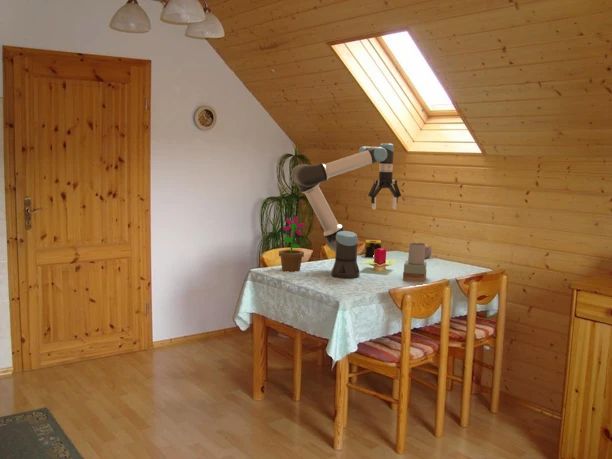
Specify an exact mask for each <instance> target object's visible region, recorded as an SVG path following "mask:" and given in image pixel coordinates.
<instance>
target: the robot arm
mask: <svg viewBox="0 0 612 459" xmlns="http://www.w3.org/2000/svg"><path fill="white" fill-rule="evenodd" d="M394 148H395V147H394V144H393V143H380V146H361V147H360V148H359V149H358V153H357V152H356V153H354V154H352V155H349V156H345V157H342V158H338V159H336V160H333V161H331V162H327V163H322V162H320V163H318V164H317V163H316V164H307V163H301V164H298V165H295V167H293V169H292V172H291V179H292V182H294V184H295V185H297V187H298V190H299V191H300V193H302V194H305V196H306V198H307V200H308V202H309V204H310V206H311V208H312V209H313V212H314V214H315V216H316V217H317V219H318V221H319V223H320V225H321V227H322V228H323V231H324V232H323V236H324V238H325V241H326V244H327V246H328V248H329V249H330V250H331V251H333V252H334V253H335V259H334V260H335V261H334V264H333V266H332V268H331V276H332V277H335V278H341V279H355V278H359V277H360V274H361V273H360V269H359V266H358V260H357V259H358V242H359V238H358V235H357V233H356V232H353V231H348V230H345V228H344V226H343V224H340V223H338V221H337V219H336V217H335V214H334V213H333V210H332V209H331V207H330V205H329V203H328V202H327V200H326V197H325V196H324V194H323V192H322V189H321V188H320V185H321V183H323V182H327V181H328V180H329V178H333V177H335V176H339V175H342V174H344V173H348V172H351V171H353V170H356V169H357V170H358V169H359V168H363V167H365V166H368V165H372V164H375V163H377V162H379V167H378V168H379V169H378V178H379V179H374V180H373V185H371V187H370V188H371V189H370V190H369V193H368V197H370V198H371V199H370V202H371V209H372V210H374V211H375V210H377V198H376V197H377V195H378V194H379V193H380V191H381V190H382V189H388V190H389V191H390V192H391V194H392V195H393V197H392V209H393V210H397V204H398V200H399V197H401V196H402V194H401V192H400V188H399V186H398V180H397V179H393V174H394V173H393V171H394V154H395V153H394V152H395V150H394Z"/></svg>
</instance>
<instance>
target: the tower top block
mask: <svg viewBox="0 0 612 459" xmlns="http://www.w3.org/2000/svg"><path fill="white" fill-rule="evenodd" d="M403 272H404V273H417V274H425V272H426V273H427V261H424V264H411V263H408V260H405V261H404V264H403Z"/></svg>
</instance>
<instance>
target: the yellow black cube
mask: <svg viewBox="0 0 612 459" xmlns="http://www.w3.org/2000/svg"><path fill="white" fill-rule="evenodd" d="M364 245H365V247H364V248H365V250H364V253H365V254H364V257H365V258H366V257H373V255H374V251H375V249H377V248H381V249H382V240H380V239H365V244H364Z"/></svg>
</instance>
